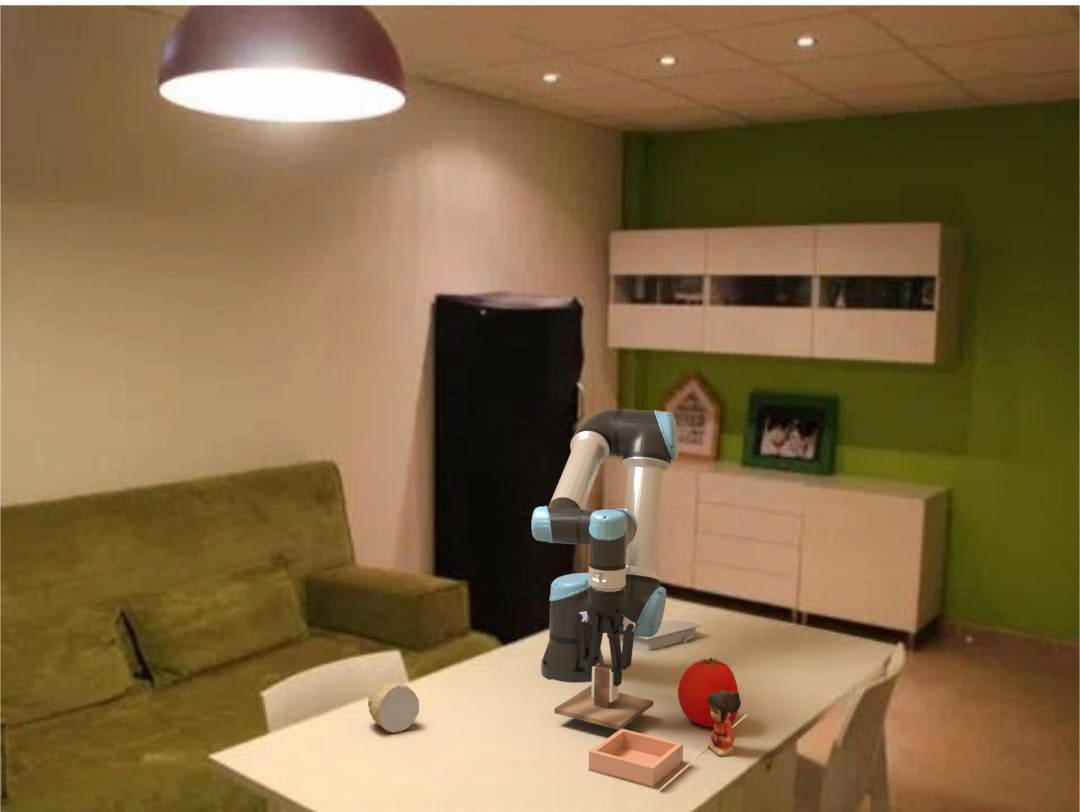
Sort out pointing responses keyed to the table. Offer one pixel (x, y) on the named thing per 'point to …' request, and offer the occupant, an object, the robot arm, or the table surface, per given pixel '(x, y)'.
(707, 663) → the tomato
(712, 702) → the figurine
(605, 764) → the dish
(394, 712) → the cream grey rounded piece
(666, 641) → the book
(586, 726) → the mat
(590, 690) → the lid
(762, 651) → the table surface
